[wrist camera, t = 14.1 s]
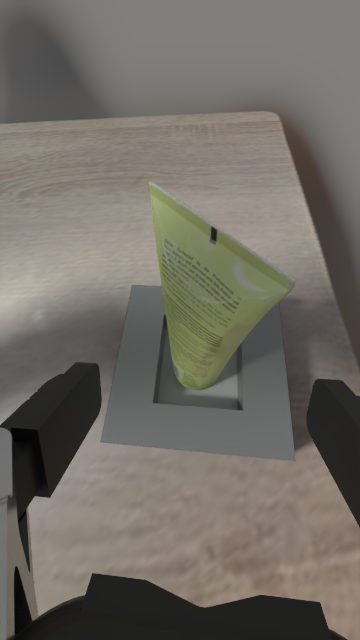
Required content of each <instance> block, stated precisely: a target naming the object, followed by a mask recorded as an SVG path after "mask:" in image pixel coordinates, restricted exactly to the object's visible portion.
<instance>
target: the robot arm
mask: <svg viewBox="0 0 360 640" xmlns="http://www.w3.org/2000/svg"><path fill="white" fill-rule="evenodd" d="M101 401H102V398H101V386H100V373H99V366H98V364H96V363H83V362H76V363H75V364H74V365H73V366H72V367H71V368H70V369H69V370H68V371H67V372H66V373H65V374H60V375H58V376H56V377H54V378H52V379H51V380H49V381H47V382H46V383H45V384H44V385H43V386H42V387H41V388H40V389H38V392H35V393H34V394H33V395H32V396H31V397H30V399H29V400H27V401H26V402H25V403H24V404H22V405H21V406H20V407H19V408H18V409H17V410H16V411H15V412H14V413H13V414H12V415H11V416H10V417H9V418H7V419H6V420H5V421H4V422H3V423H2V424H1V425H0V640H347V639H346V638H344V637H342V636H341V635H339V634H337V633H336V632H334V631H332V630H330V629H328V626H327V623H326V620H325V617H324V613H323V610H322V607H321V604H320V602H313V601H305V600H297V599H290V598H282V597H274V596H266V595H259V596H255V597H250V598H246V599H242V600H238V601H233V602H229V603H225V604H221V605H216V606H212V607H206V608H203V607H199V606H196V605H194V604H192V603H190V602H188V601H186V600H184V599H182V598H180V597H178V596H176V595H174V594H172V593H170V592H168V591H166V590H164V589H162V588H160V587H158V586H156V585H155V584H153V583H151V582H149V581H147V580H141V579H133V578H126V577H118V576H110V575H102V574H94V573H92V576H91V579H90V582H89V585H88V588H87V592H86V595H83V596H79V597H76V598H73V599H71V600H68V601H66V602H63V603H61V604H59V605H58V606H56V607H54V608H52V609H50V610H48V611H47V612H45V613H44V614H42V615H41V616H39V617H38V609H37V602H36V596H35V589H34V579H33V565H32V551H31V537H30V523H29V512H28V505H29V504H30V502H31V501H32V499H33V498H34V496H39V497H49V498H50V497H51V495H52V493H53V492H54V490H55V488H56V486H57V485H58V483H59V481H60V480H61V478H62V476H63V475H64V473H65V471H66V469H67V468H68V466H69V464H70V463H71V461H72V459H73V457H74V456H75V454H76V452H77V451H78V449H79V447H80V445H81V444H82V442H83V440H84V439H85V437H86V435H87V433H88V432H89V430H90V428H91V427H92V425H93V423H94V421H95V420H96V418H97V416H98V414H99V412H100V408H101ZM307 428H308V431H309V434H310V436H311V438H312V439H313V441H314V443H315V445H316V447H317V449H318V451H319V452H320V454H321V456H322V458H323V460H324V462H325V464H326V466H327V467H328V469H329V471H330V473H331V475H332V477H333V479H334V480H335V482H336V484H337V486H338V488H339V490H340V492H341V493H342V495H343V497H344V499H345V501H346V503H347V505H348V506H349V508H350V510H351V512H352V514H353V516H354V518H355V519H356V521H357V523H358V525H359V527H360V397H359V396H356V395H355V394H354V393H353V392H352V391H351V390H350V389H349V387H348V386H347V385H346V384H345V383H344V382H343V381H341V380H329V379H317V380H316V381H315V382H314V385H313V389H312V394H311V398H310V403H309V407H308V412H307Z"/></svg>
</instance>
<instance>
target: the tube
mask: <svg viewBox="0 0 360 640" xmlns="http://www.w3.org/2000/svg"><path fill="white" fill-rule="evenodd" d="M149 189H150V195H151V204H152V213H153V222H154V230H155V238H156V246H157V253H158V261H159V268H160V276H161V283H162V290H163V298H164V305H165V312H166V319H167V327H168V334H169V341H170V348H171V355H172V362H173V368H174V373H175V376H176V378H177V380H178V381H179V382H180V383H181V384H182V385H183V386H184V387H186V388H188V389H191V390H204V389H207V388H209V387H210V386H212V385H213V384H214V383H215V382H216V380H217V379H218V377H219V375H220V374H221V372H222V370H223V369H224V367H225V365H226V364H227V362H228V361H229V359H230V358H231V356H232V355H233V353H234V352H235V351H236V349H237V348H238V346H239V345H240V344H241V343H242V341H243V340H244V339H245V337H246V336H247V335H248V334H249V333H250V331H251V330H252V329H253V328H254V327H255V326H256V324H257V323H258V322H259V321H260V320H261V319H262V318H263V317H264V316H265V314H266V313H267V312H268V311H269V310H270V309H271V308H272V307H273V306H274V305H276V304H277V303H278V302H279V301H280V300H281V299H283V298H284V297H285V296H286V295H287V294H289V293H290V291H291V290H292V288H293V287H294V285H295V283H296V281H297V280H296V279H295V278H293V277H292V276H290V275H288V274H286V273H285V272H284V271H282V270H281V269H279V268H278V267H276V266H275V265H273V264H271V263H270V262H268V261H267V260H265V259H264V258H262V257H261V256H259V255H258V254H257V253H255V252H254V251H252V250H251V249H249V248H248V247H246V246H245V245H243V244H242V243H240V242H239V241H238V240H236V239H235V238H233V237H232V236H230V235H228V234H227V233H225V232H224V231H222V230H221V229H219V228H218V227H216V226H215V225H214V224H212V223H211V222H209V221H208V220H207V219H205V218H204V217H202V216H201V215H199V214H198V213H196V212H195V211H194V210H192V209H191V208H189V207H188V206H186V205H185V204H184V203H182V202H181V201H179V200H178V199H177V198H175V197H174V196H172V195H171V194H170V193H168V192H167V191H165V190H164V189H162V188H161V187H159V186H158V185H156V184H155V183H153V182H151V181H149Z"/></svg>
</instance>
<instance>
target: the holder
mask: <svg viewBox="0 0 360 640" xmlns="http://www.w3.org/2000/svg"><path fill="white" fill-rule="evenodd" d="M100 442H103V443H114V444H124V445H134V446H145V447H155V448H166V449H176V450H187V451H197V452H208V453H218V454H228V455H239V456H249V457H260V458H270V459H281V460H291V461H295V451H294V442H293V432H292V422H291V412H290V403H289V393H288V383H287V373H286V364H285V354H284V344H283V335H282V325H281V315H280V305H279V302H278V303H277V304H276V305H274V306H273V307H272V308H271V309H270V310H269V311H268V312H267V313H266V314H265V316H264V317H263V318H262V319H261V320H260V321H259V322H258V323H257V324H256V326H255V327H254V328H253V329H252V330H251V331H250V333H249V334H248V335H247V336H246V337H245V339H244V340H243V341H242V343H241V344H240V345H239V346H238V348H237V349H236V351H235V352H234V353H233V355H232V356H231V358H230V359H229V361H228V362H227V364H226V365H225V367H224V369H223V370H222V372H221V374H220V375H219V377H218V379H217V380H216V382H215V383H214V384H213V385H212V386H210V387H209V388H207V389H204V390H191V389H188V388H186V387H184V386H183V385H182V384H181V383H180V382H179V381H178V380H177V378H176V376H175V373H174V368H173V362H172V355H171V348H170V341H169V334H168V327H167V319H166V312H165V305H164V298H163V290H162V286H143V285H132V288H131V293H130V298H129V303H128V308H127V313H126V318H125V323H124V328H123V333H122V338H121V343H120V348H119V353H118V357H117V362H116V367H115V372H114V377H113V382H112V387H111V392H110V397H109V402H108V407H107V412H106V417H105V422H104V426H103V431H102V436H101V441H100Z"/></svg>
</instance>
